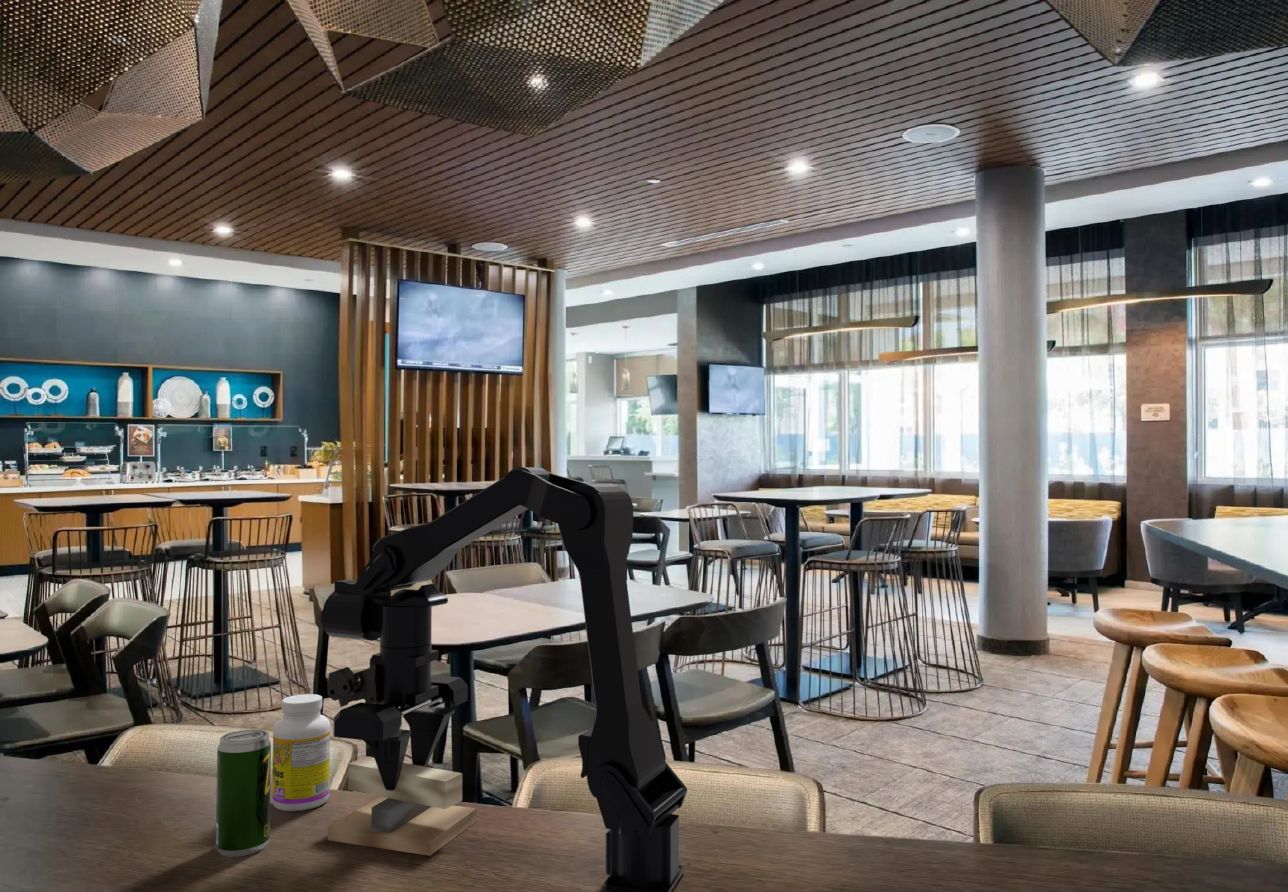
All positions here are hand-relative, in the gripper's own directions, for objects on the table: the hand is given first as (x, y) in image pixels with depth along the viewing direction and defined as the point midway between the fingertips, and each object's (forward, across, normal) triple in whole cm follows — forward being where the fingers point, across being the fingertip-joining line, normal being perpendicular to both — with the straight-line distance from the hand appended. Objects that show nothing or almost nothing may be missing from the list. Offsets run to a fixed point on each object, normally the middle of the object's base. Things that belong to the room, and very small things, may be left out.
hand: (404, 781), depth 102 cm
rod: (+2, 0, 0) cm, 2 cm away
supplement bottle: (+6, -4, -17) cm, 18 cm away
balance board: (+6, 0, 0) cm, 6 cm away
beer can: (+6, +10, -14) cm, 18 cm away
